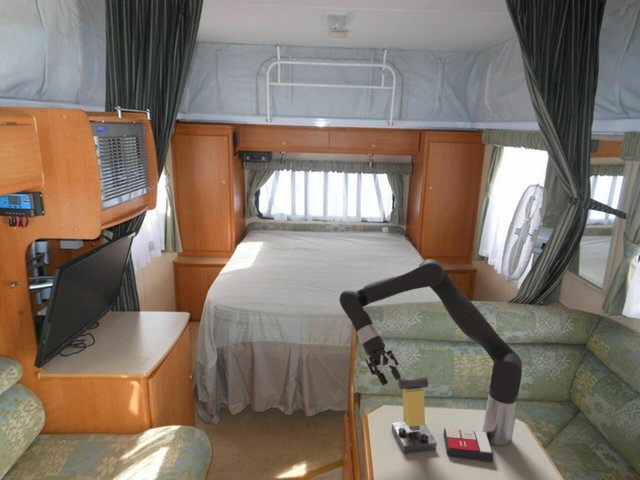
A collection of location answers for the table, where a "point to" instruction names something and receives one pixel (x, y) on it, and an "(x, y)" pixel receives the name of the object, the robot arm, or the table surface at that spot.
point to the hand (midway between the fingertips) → (392, 381)
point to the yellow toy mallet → (413, 401)
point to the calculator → (468, 444)
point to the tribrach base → (413, 438)
